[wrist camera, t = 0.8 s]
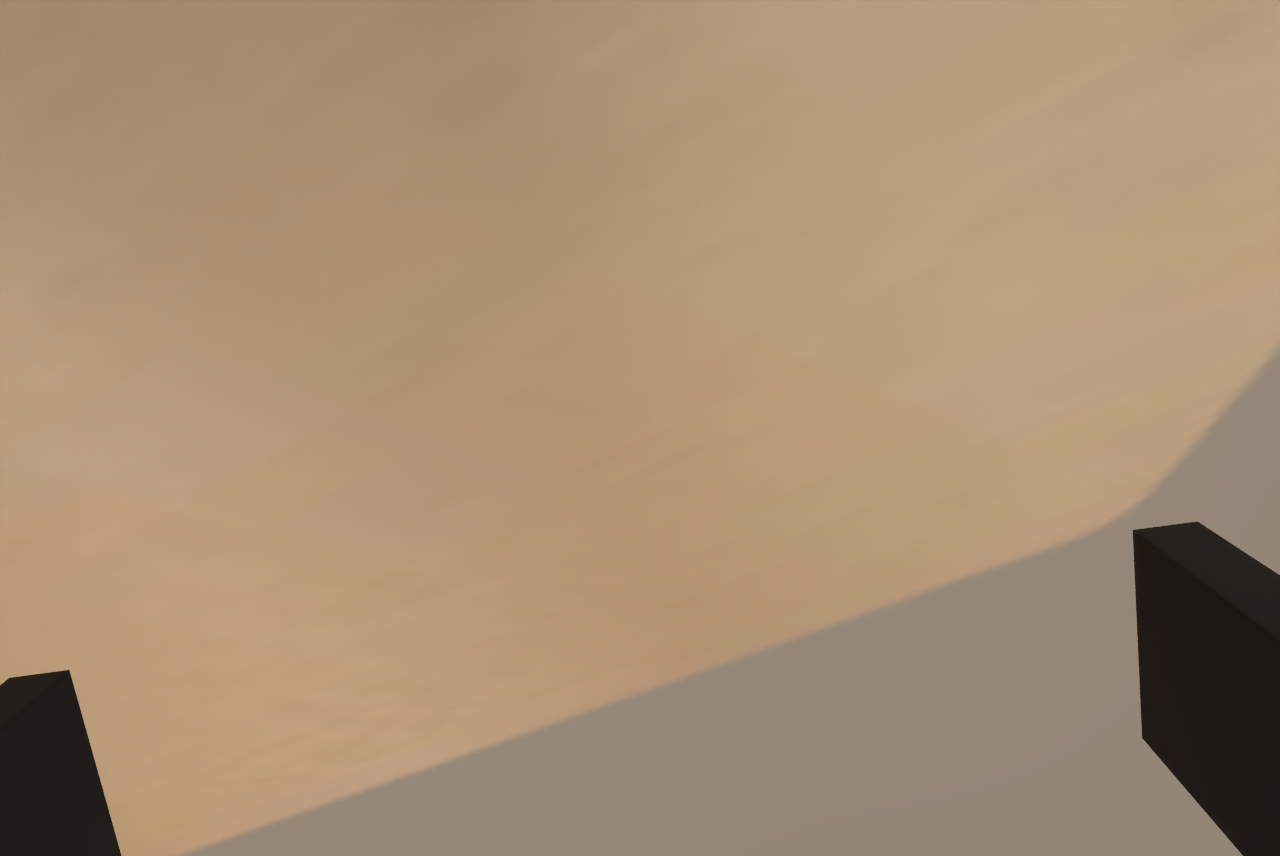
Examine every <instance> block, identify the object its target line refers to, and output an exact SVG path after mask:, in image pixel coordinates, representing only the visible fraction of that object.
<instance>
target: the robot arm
mask: <svg viewBox="0 0 1280 856" xmlns="http://www.w3.org/2000/svg"><path fill="white" fill-rule="evenodd" d="M1133 541H1134V542H1133V544H1134V564H1135V565H1134V566H1135V585H1136V587H1135V588H1136V610H1137V631H1138V653H1139V675H1140V698H1141V720H1142V738H1143V739H1144V740H1145V742H1146V743H1147V744H1148V745H1149V746H1150V747H1151V749H1152V750H1153V751H1154V752H1155V753H1156V755H1157V756H1158V757H1159V758H1160V759H1161V760H1162V762H1163V763H1164V764H1165V765H1166V766H1167V767H1168V768H1169V770H1170V771H1171V772H1172V773H1173V774H1174V775H1175V777H1176V778H1177V779H1178V780H1179V781H1180V782H1181V784H1182V785H1183V786H1184V787H1185V788H1186V790H1187V791H1188V792H1189V793H1190V794H1191V795H1192V797H1193V798H1194V799H1195V800H1196V801H1197V802H1198V803H1199V805H1200V806H1201V807H1202V808H1203V809H1204V811H1205V812H1206V813H1207V814H1208V815H1209V816H1210V818H1211V819H1212V820H1213V821H1214V822H1215V823H1216V825H1217V826H1218V827H1219V828H1220V829H1221V830H1222V831H1223V833H1224V834H1225V835H1226V836H1227V837H1228V839H1229V840H1230V841H1231V842H1232V843H1233V844H1234V846H1235V847H1236V848H1237V849H1238V850H1239V851H1240V853H1241V854H1242V855H1243V856H1280V575H1278V574H1277V573H1275V572H1274V571H1272V570H1271V569H1269V568H1268V567H1266V566H1265V565H1263V564H1261V563H1260V562H1258V561H1257V560H1255V559H1254V558H1252V557H1251V556H1249V555H1248V554H1246V553H1245V552H1243V551H1241V550H1240V549H1239V548H1237V547H1235V546H1234V545H1232V544H1231V543H1229V542H1228V541H1226V540H1225V539H1223V538H1222V537H1220V536H1219V535H1217V534H1216V533H1214V532H1213V531H1211V530H1210V529H1208V528H1206V527H1205V526H1203V525H1202V524H1200V523H1199V522H1191V523H1183V524H1177V525H1169V526H1161V527H1153V528H1145V529H1138V530H1133ZM0 856H121V853H120V849H119V846H118V842H117V839H116V835H115V832H114V828H113V824H112V821H111V817H110V814H109V810H108V807H107V803H106V800H105V796H104V792H103V789H102V785H101V782H100V778H99V775H98V771H97V767H96V764H95V760H94V757H93V753H92V750H91V746H90V743H89V739H88V735H87V732H86V728H85V725H84V721H83V718H82V714H81V710H80V707H79V703H78V700H77V696H76V693H75V689H74V686H73V682H72V678H71V675H70V671H69V670H66V671H59V672H51V673H44V674H36V675H28V676H21V677H13V678H9V679H8V680H6V681H5V682H4V683H3V684H1V685H0Z"/></svg>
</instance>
